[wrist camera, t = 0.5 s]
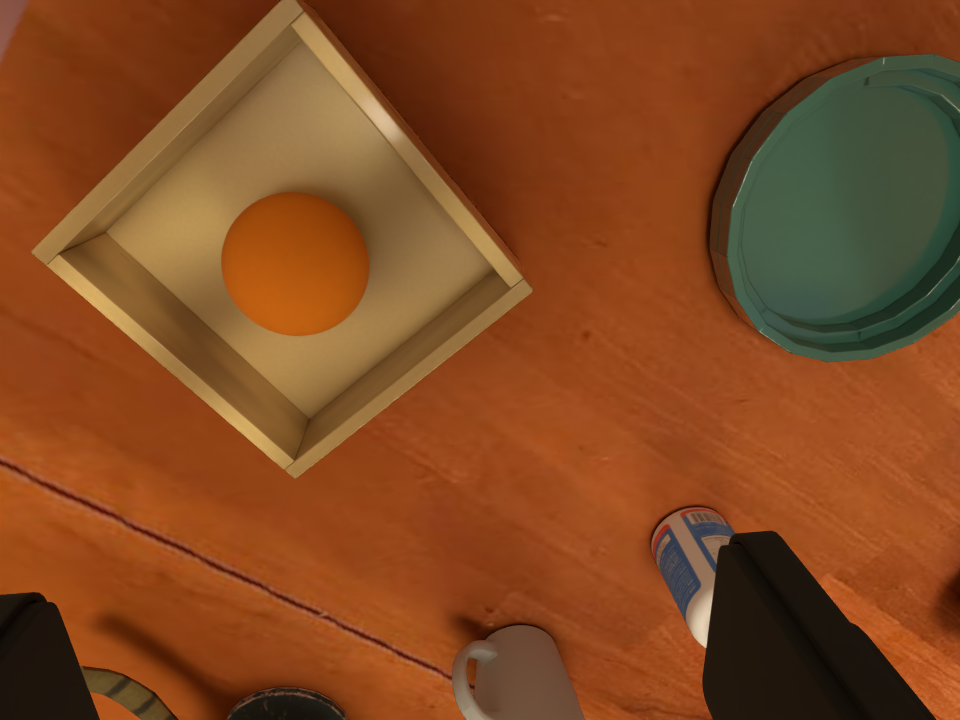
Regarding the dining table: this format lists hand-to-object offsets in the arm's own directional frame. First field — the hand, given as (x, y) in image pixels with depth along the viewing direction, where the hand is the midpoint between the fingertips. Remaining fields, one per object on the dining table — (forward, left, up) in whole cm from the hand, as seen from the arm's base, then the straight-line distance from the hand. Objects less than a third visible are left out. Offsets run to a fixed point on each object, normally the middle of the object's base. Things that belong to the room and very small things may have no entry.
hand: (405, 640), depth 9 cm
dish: (+14, +18, -27) cm, 35 cm away
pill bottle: (+27, 0, -27) cm, 38 cm away
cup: (+26, -15, -27) cm, 40 cm away
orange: (-3, -5, -23) cm, 23 cm away
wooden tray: (-3, -5, -27) cm, 27 cm away
